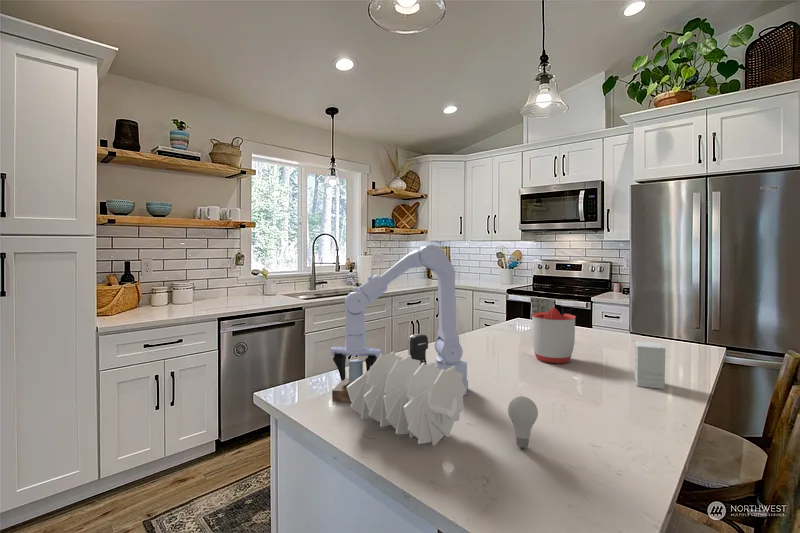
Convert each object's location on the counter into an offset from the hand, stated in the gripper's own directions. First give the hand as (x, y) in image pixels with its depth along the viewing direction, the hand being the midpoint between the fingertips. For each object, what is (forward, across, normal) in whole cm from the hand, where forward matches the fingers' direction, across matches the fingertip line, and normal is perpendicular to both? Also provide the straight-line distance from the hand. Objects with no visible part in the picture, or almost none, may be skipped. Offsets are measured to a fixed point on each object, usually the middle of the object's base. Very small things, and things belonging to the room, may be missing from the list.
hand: (355, 380), depth 117 cm
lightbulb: (+5, -44, +23) cm, 50 cm away
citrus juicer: (+5, -63, -49) cm, 80 cm away
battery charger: (+5, -14, -31) cm, 34 cm away
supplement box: (+5, -87, -25) cm, 91 cm away
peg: (+4, 0, 0) cm, 4 cm away
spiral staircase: (+5, -19, +20) cm, 27 cm away
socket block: (+4, 0, 0) cm, 4 cm away
